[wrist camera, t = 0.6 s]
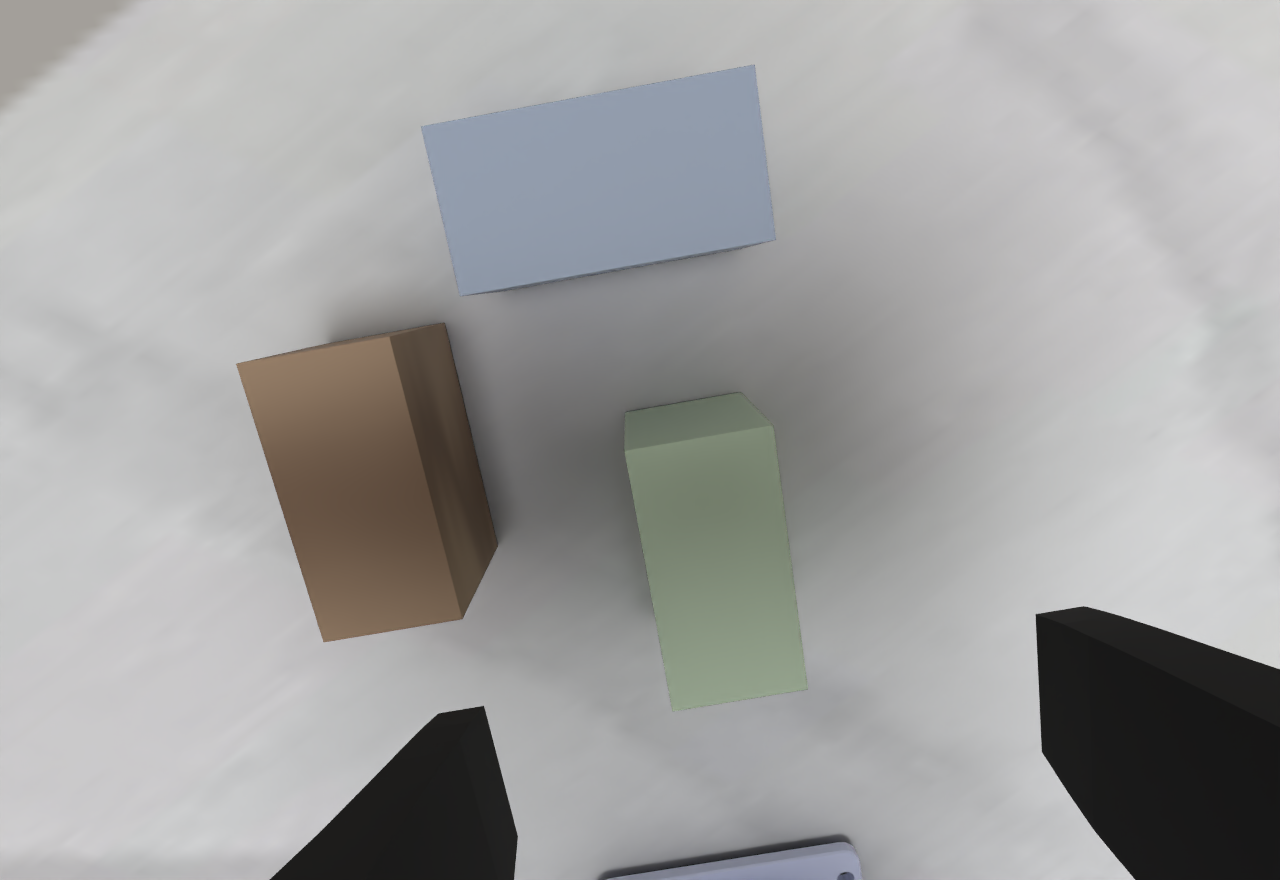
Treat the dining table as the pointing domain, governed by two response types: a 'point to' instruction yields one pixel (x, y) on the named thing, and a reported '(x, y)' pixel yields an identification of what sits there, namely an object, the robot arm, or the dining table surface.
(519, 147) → the slate brick
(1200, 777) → the robot arm
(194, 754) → the dining table surface
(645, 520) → the sage brick
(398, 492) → the walnut brick
